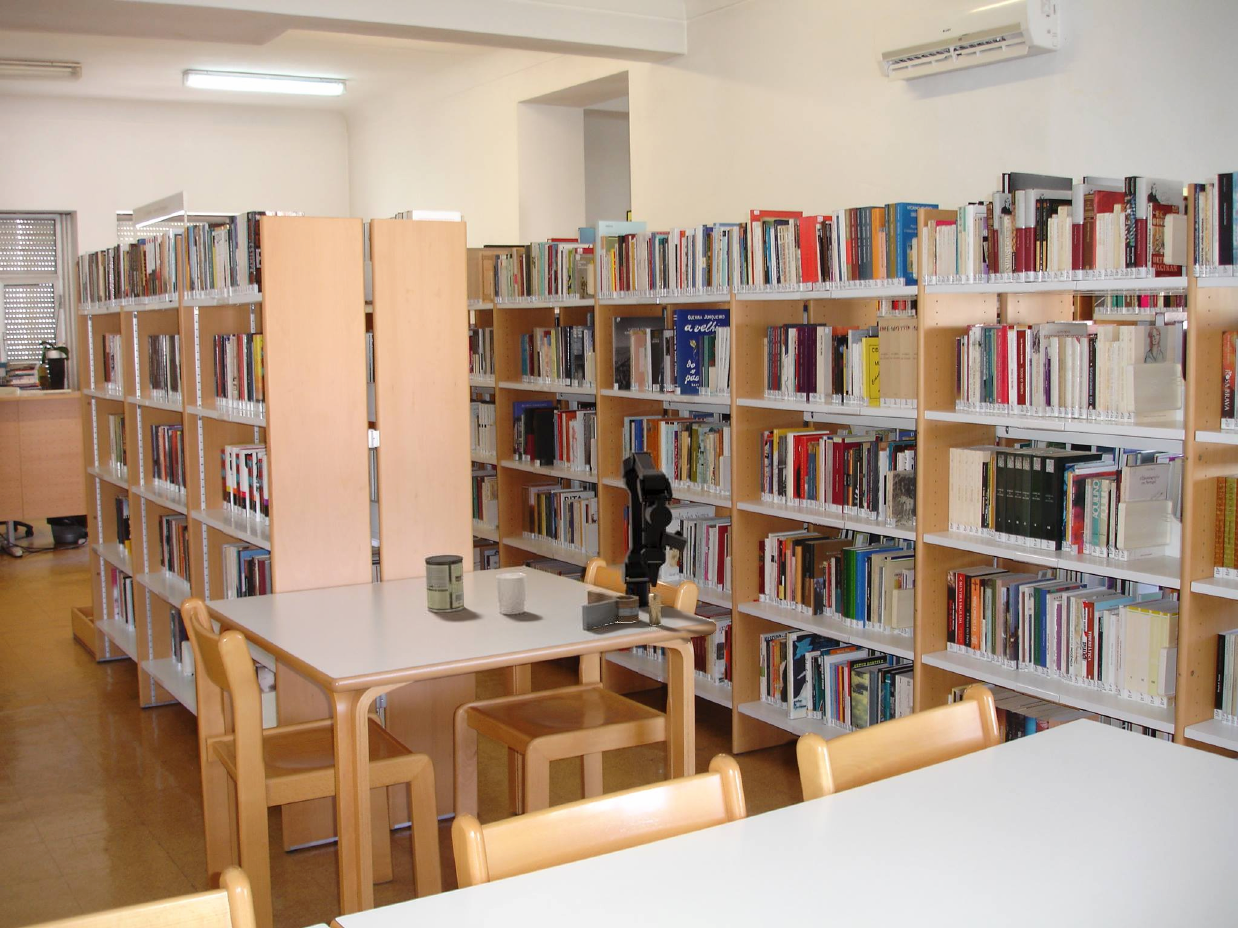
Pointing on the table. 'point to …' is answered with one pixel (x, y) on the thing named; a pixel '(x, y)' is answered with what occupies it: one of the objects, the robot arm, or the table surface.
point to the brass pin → (654, 608)
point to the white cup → (511, 592)
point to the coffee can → (444, 583)
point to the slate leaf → (604, 613)
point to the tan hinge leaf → (622, 602)
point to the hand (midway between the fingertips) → (654, 583)
